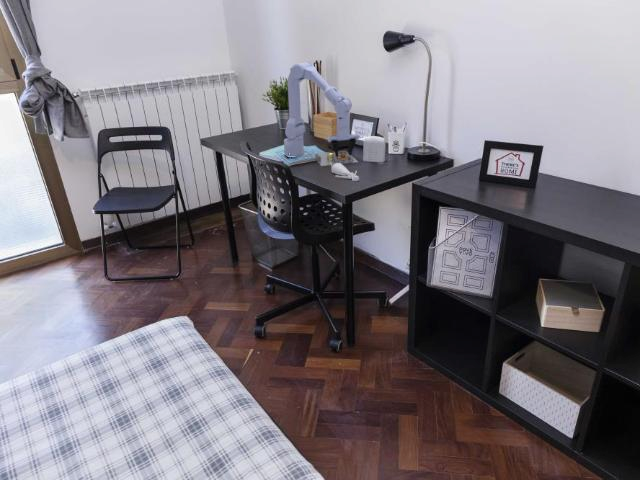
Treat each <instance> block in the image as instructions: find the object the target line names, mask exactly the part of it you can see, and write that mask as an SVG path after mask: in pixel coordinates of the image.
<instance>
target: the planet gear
mask: <svg viewBox="0 0 640 480" xmlns="http://www.w3.org/2000/svg"><path fill="white" fill-rule="evenodd" d="M340 151H341V156H338V159H339V160H347V159H348V156H345V151H346V150H340Z"/></svg>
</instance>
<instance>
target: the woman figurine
mask: <svg viewBox="0 0 640 480" xmlns="http://www.w3.org/2000/svg"><path fill="white" fill-rule="evenodd" d="M330 168H331V169H330V170H331V173H332V174H335V175H334V176H335V177H336V178H341V179H342V178H344V179H348V180H352V181H353V182H359V180H360V177H359V176H358V175H357V172H358V170H355V172H353V171H352V172H351V171H350V170H348V168H347V167H346V166H345V165H344V164H341V163H336V164H334V165H330Z"/></svg>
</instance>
